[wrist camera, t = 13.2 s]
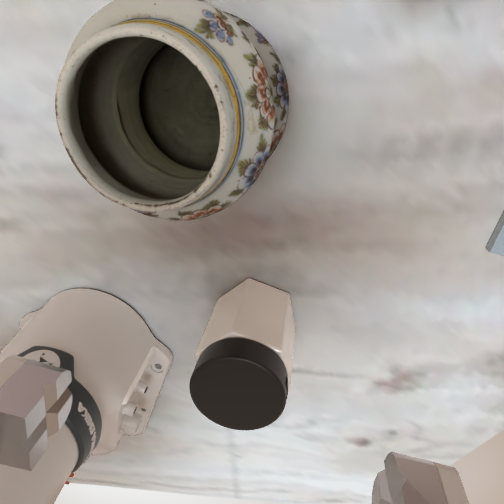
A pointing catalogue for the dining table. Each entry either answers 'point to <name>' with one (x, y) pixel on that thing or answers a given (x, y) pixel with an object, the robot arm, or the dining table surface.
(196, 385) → the jar
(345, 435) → the dining table surface
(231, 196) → the apothecary jar
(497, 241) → the cradle stand
